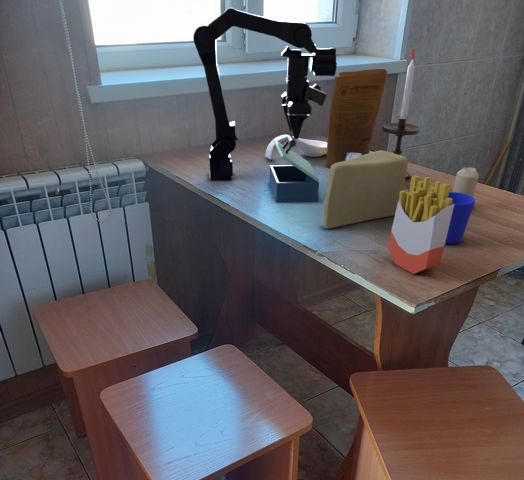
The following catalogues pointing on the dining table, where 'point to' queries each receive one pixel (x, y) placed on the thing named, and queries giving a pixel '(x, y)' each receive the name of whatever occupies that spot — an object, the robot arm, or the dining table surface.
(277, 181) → the lunchbox
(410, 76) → the candlestick
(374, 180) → the cheese
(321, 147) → the spoon rest
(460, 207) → the mug
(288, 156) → the lunchbox lid
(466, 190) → the candle
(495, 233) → the dining table surface
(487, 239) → the dining table surface
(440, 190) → the french fries container
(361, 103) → the pancake mix bag
